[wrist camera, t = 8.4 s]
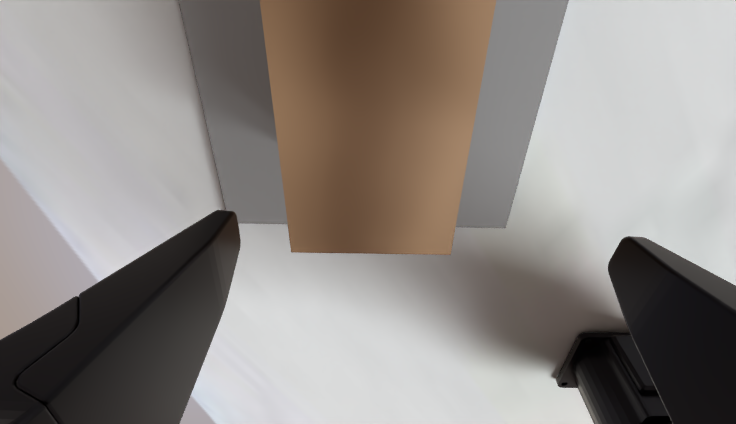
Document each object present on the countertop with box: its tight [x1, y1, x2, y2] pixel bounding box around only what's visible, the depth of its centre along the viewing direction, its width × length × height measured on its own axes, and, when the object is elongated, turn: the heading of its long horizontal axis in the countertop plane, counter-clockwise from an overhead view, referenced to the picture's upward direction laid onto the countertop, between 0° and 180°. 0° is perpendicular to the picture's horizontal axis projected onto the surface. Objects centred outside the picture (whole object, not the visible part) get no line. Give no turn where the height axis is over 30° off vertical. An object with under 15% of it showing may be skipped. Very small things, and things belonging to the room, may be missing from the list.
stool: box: [260, 0, 496, 255], centre depth 15 cm, size 6×10×7 cm, turn 179°
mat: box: [178, 0, 569, 228], centre depth 18 cm, size 18×16×1 cm
